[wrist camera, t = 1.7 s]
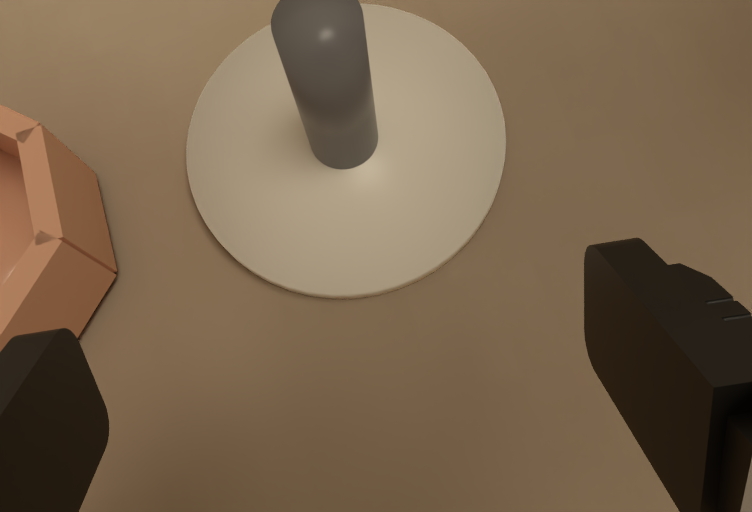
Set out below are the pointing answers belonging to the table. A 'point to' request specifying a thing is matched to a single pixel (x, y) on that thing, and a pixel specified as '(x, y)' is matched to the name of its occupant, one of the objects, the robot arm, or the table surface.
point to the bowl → (48, 233)
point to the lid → (346, 149)
